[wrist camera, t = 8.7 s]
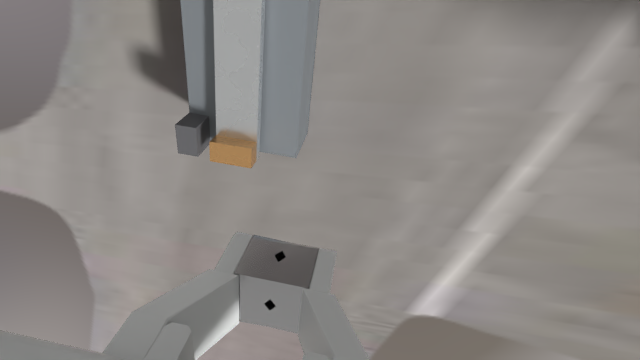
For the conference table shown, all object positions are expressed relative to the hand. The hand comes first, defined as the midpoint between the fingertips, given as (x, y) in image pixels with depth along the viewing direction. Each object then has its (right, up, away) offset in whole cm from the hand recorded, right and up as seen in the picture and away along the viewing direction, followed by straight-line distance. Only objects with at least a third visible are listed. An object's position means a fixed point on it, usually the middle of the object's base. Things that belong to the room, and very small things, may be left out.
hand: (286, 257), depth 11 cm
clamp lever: (-6, +12, +23) cm, 27 cm away
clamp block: (-5, +17, +28) cm, 33 cm away
